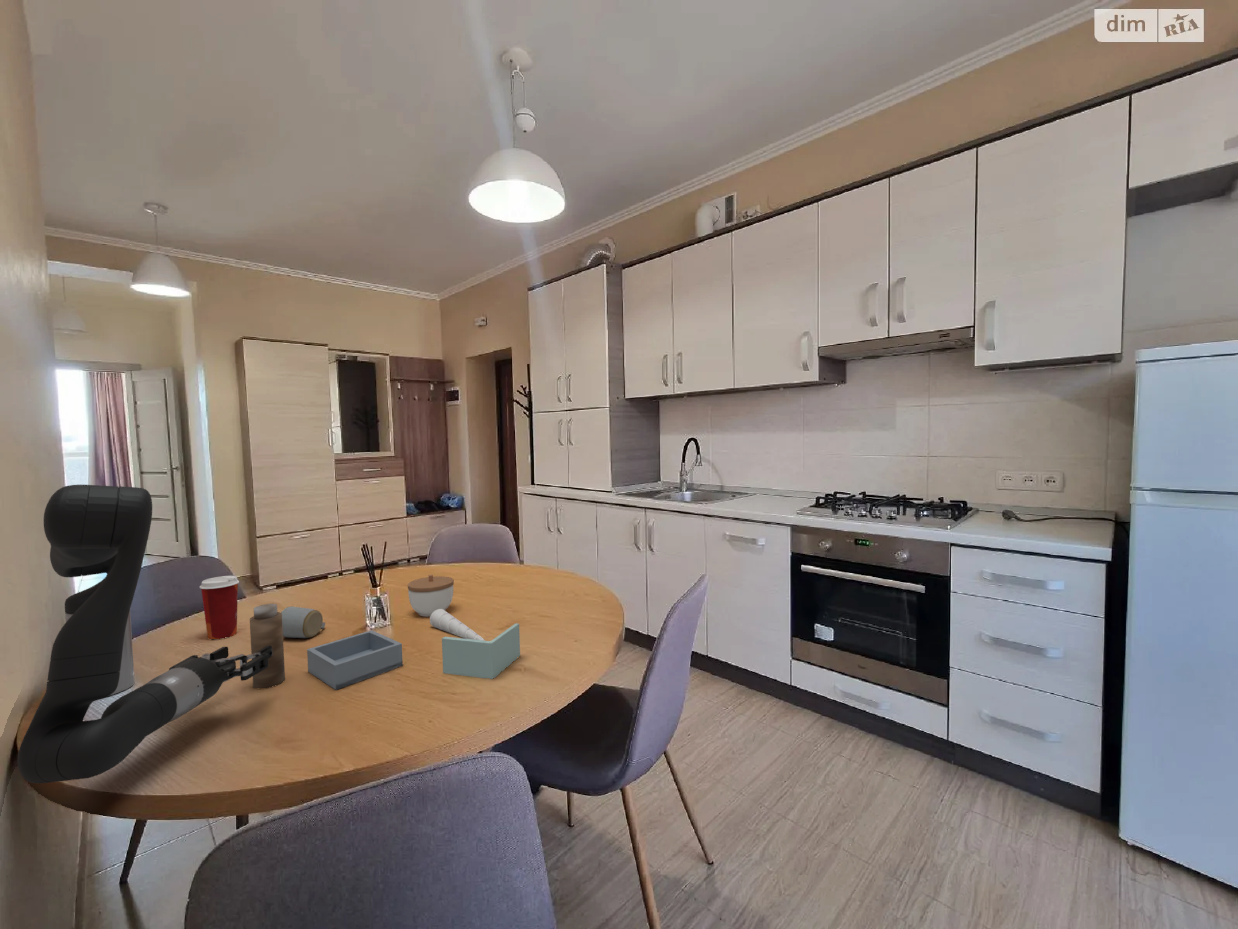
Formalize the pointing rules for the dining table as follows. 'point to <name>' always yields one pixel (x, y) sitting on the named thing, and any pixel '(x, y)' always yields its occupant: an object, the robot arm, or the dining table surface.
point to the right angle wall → (481, 654)
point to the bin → (354, 659)
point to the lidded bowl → (430, 594)
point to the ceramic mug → (301, 622)
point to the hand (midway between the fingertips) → (248, 650)
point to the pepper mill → (268, 644)
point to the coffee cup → (220, 606)
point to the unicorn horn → (452, 625)
